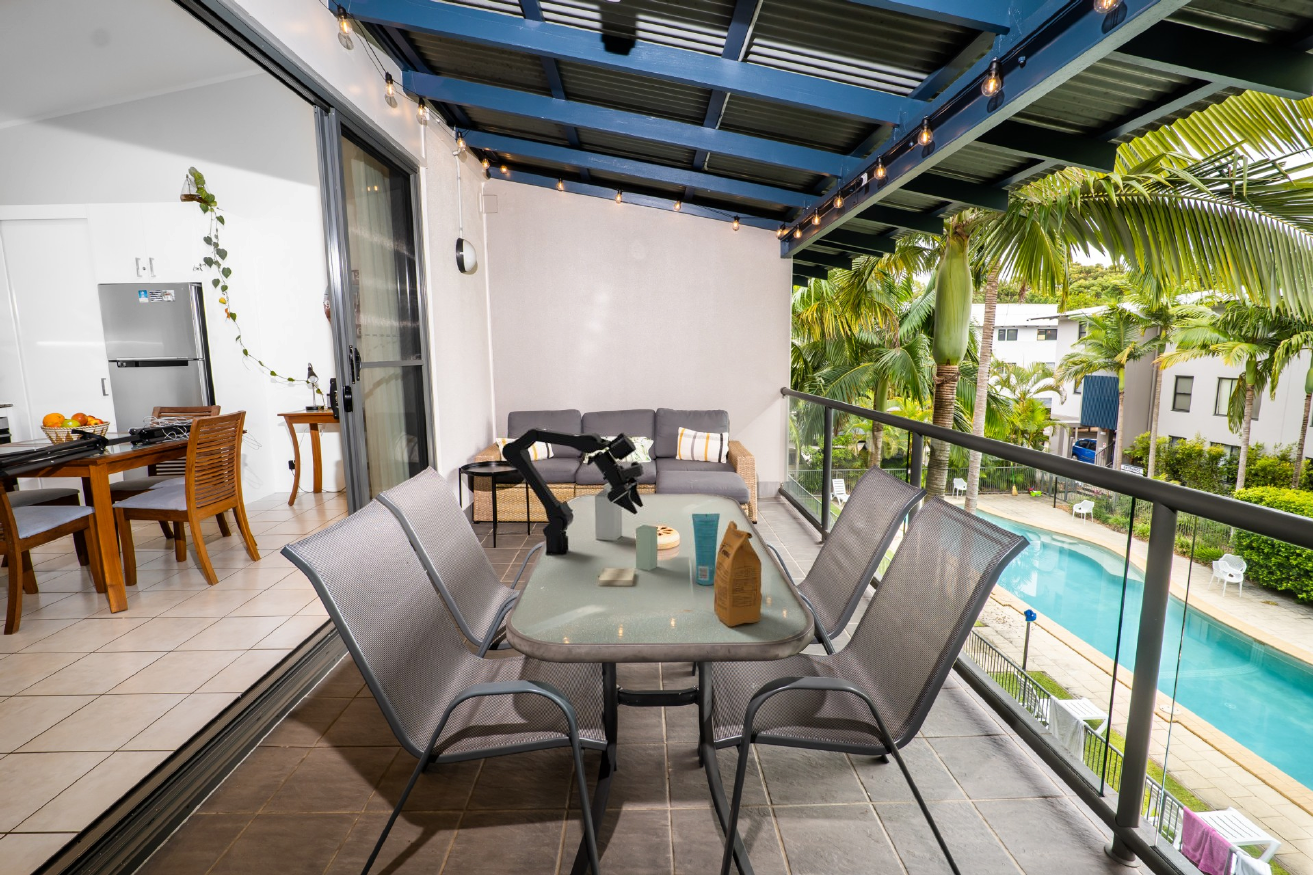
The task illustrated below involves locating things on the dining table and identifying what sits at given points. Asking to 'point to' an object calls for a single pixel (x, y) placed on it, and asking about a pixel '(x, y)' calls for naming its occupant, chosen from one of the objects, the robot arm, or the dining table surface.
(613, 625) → the dining table surface
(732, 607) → the coffee package
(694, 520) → the tube
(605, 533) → the milk carton
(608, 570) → the slab top
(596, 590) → the dining table surface
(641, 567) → the post
